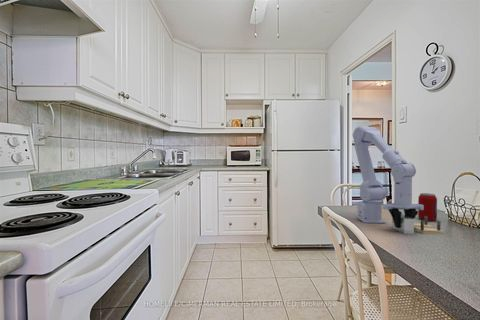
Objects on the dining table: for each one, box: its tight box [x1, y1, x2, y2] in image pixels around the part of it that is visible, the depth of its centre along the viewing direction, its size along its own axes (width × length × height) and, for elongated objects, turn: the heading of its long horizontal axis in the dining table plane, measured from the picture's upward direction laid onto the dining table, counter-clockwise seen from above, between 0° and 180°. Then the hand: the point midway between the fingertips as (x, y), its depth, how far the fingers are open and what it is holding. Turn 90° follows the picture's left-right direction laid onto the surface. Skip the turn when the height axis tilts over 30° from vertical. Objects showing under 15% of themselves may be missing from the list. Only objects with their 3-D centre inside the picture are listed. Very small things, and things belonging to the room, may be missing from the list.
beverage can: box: [417, 192, 438, 222], centre depth 108 cm, size 7×7×12 cm
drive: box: [391, 213, 415, 235], centre depth 93 cm, size 8×4×6 cm, turn 175°
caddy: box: [414, 216, 445, 235], centre depth 94 cm, size 10×8×4 cm
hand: (402, 227), depth 93 cm, fingers closed on drive, 3 cm apart
